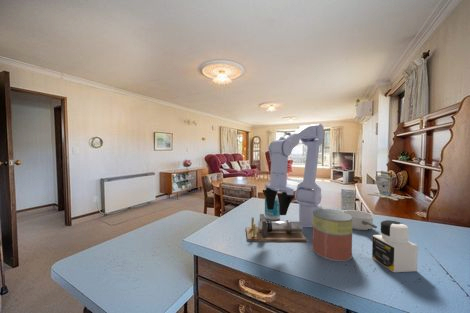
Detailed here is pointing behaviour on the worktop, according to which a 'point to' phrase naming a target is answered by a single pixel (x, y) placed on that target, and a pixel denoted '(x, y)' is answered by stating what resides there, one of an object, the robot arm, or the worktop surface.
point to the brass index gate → (253, 227)
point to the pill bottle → (275, 212)
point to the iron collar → (263, 225)
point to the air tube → (281, 226)
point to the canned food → (332, 234)
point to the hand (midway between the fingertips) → (276, 212)
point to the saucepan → (361, 220)
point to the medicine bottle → (395, 247)
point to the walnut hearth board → (275, 236)
